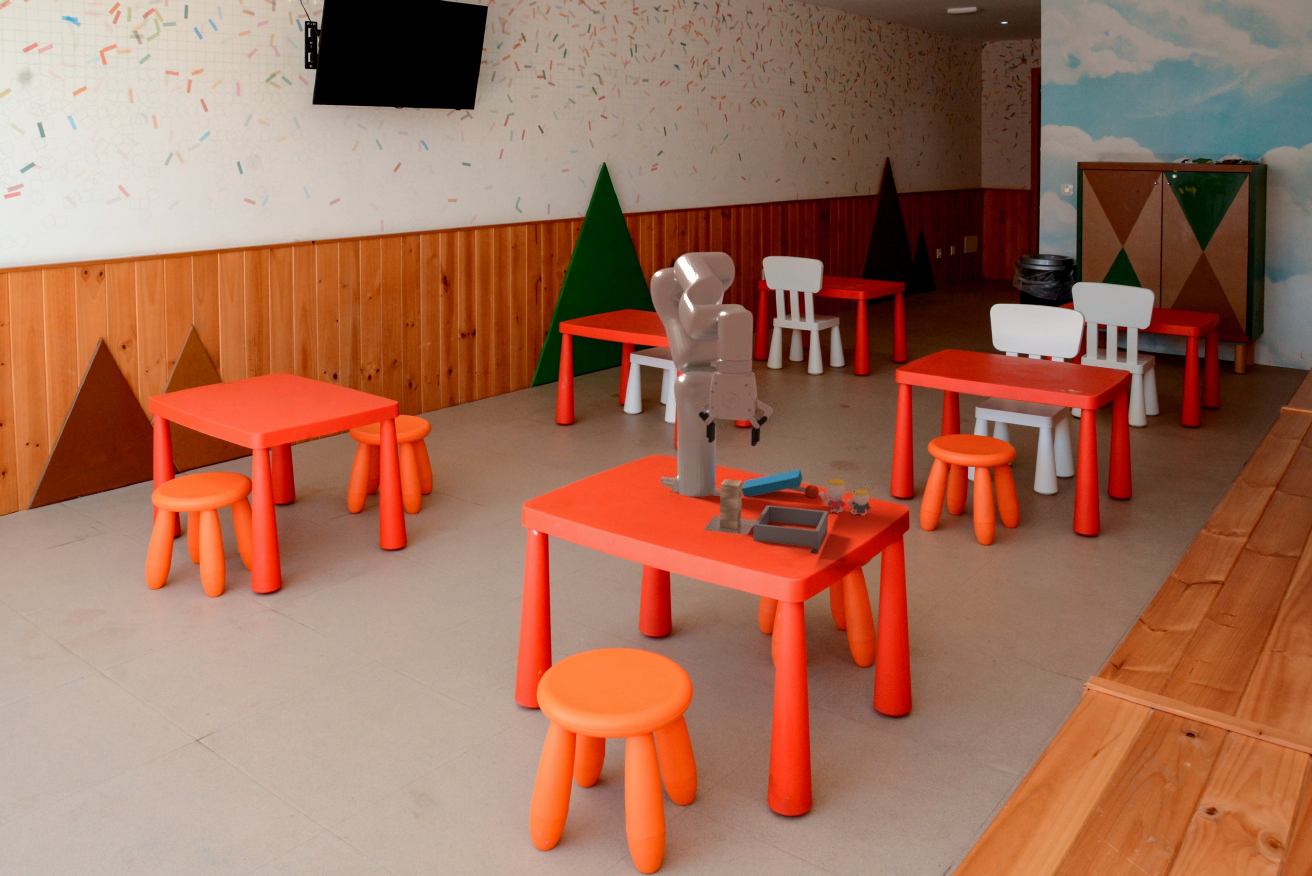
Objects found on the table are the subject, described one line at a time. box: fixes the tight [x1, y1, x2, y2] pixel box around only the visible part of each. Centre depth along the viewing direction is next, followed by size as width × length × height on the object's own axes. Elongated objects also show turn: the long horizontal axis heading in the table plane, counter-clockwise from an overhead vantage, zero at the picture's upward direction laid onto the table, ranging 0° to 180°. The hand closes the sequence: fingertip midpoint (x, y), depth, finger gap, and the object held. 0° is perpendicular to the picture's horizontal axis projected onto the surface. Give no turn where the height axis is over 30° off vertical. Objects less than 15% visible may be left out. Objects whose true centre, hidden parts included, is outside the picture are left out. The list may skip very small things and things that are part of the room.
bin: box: [752, 504, 829, 555], centre depth 234 cm, size 14×14×5 cm
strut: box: [719, 478, 743, 529], centre depth 238 cm, size 4×4×10 cm
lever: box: [742, 469, 820, 499], centre depth 266 cm, size 7×7×18 cm
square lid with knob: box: [703, 515, 757, 536], centre depth 239 cm, size 10×10×4 cm
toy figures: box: [819, 478, 872, 515], centre depth 251 cm, size 12×4×8 cm, turn 76°
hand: (732, 443), depth 234 cm, fingers open, 9 cm apart
